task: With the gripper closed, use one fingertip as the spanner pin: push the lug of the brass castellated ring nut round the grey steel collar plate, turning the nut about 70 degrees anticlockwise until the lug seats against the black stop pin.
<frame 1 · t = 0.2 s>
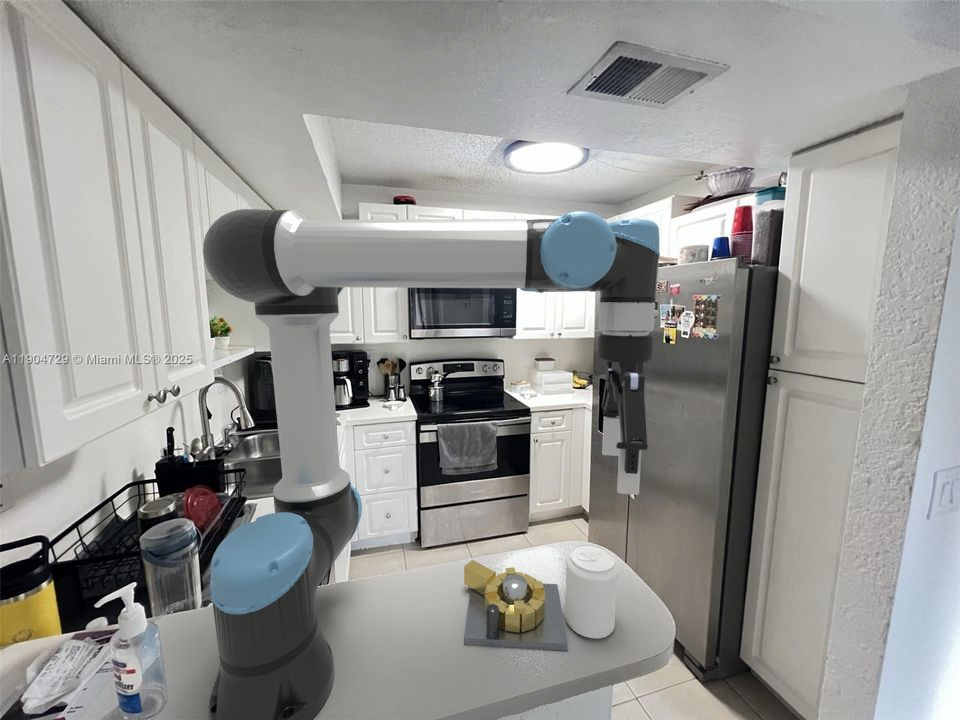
hand: (618, 471, 60), 27 cm above the counter, fingers open, 13 cm apart
beverage can: (589, 622, 66), on the counter
collar plate: (514, 614, 68), on the counter
ring nut: (501, 589, 69), point 3 cm above the counter, hinge at -70.0°
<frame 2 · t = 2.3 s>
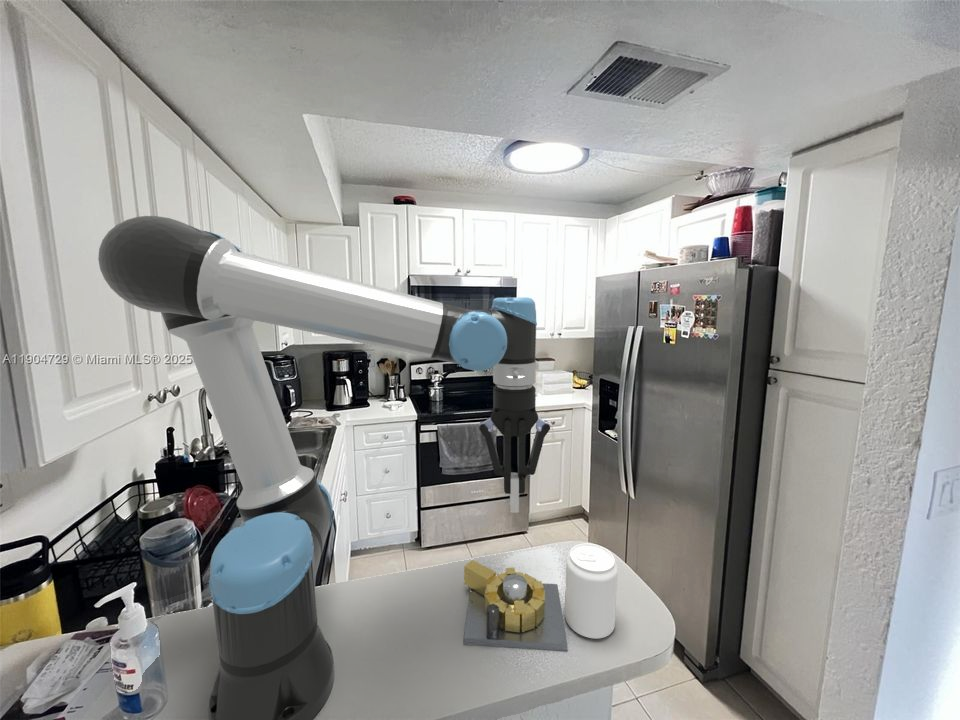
hand: (514, 508, 73), 15 cm above the counter, fingers closed
nothing on the counter moved.
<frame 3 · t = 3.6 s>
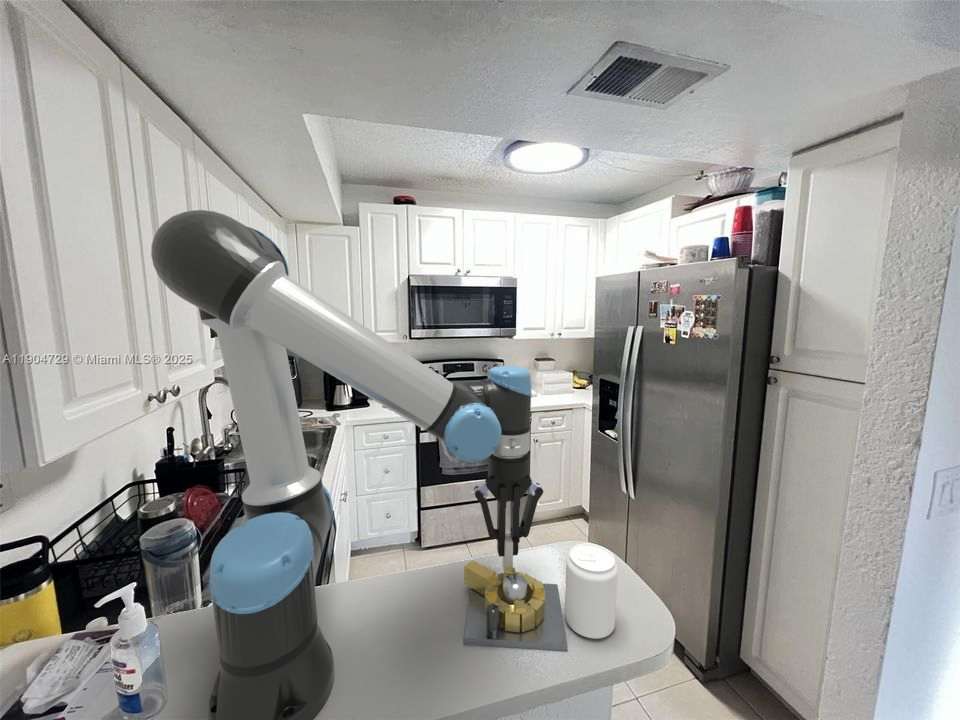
hand: (507, 569, 75), 3 cm above the counter, fingers closed
nothing on the counter moved.
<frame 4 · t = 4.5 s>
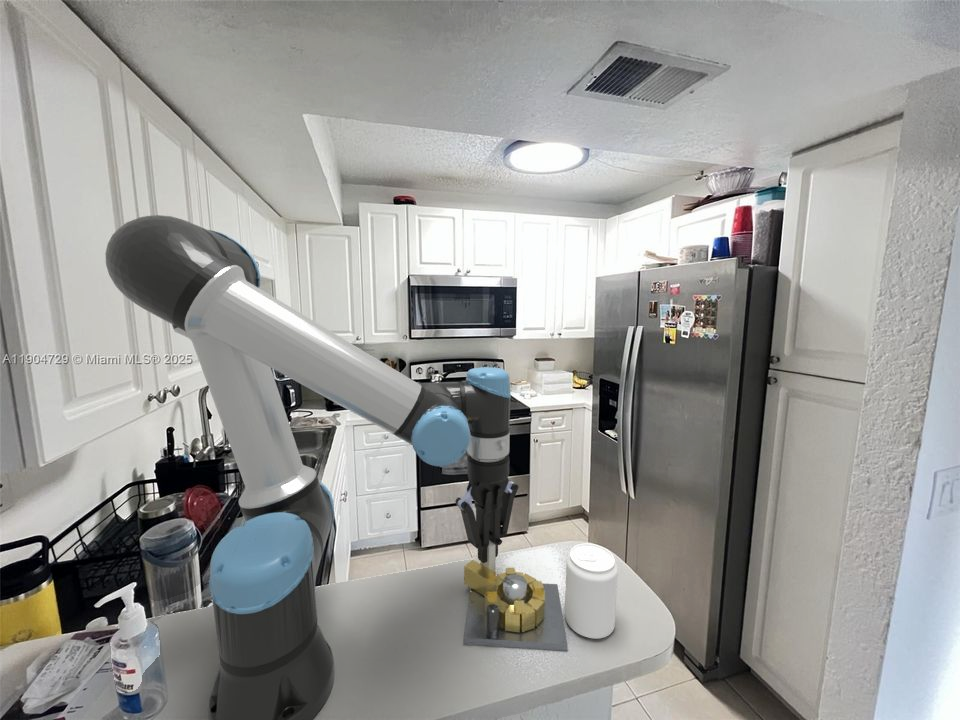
hand: (487, 574, 74), 3 cm above the counter, fingers closed
ring nut: (501, 589, 69), point 3 cm above the counter, hinge at -70.0°, touching gripper
everything else where it was.
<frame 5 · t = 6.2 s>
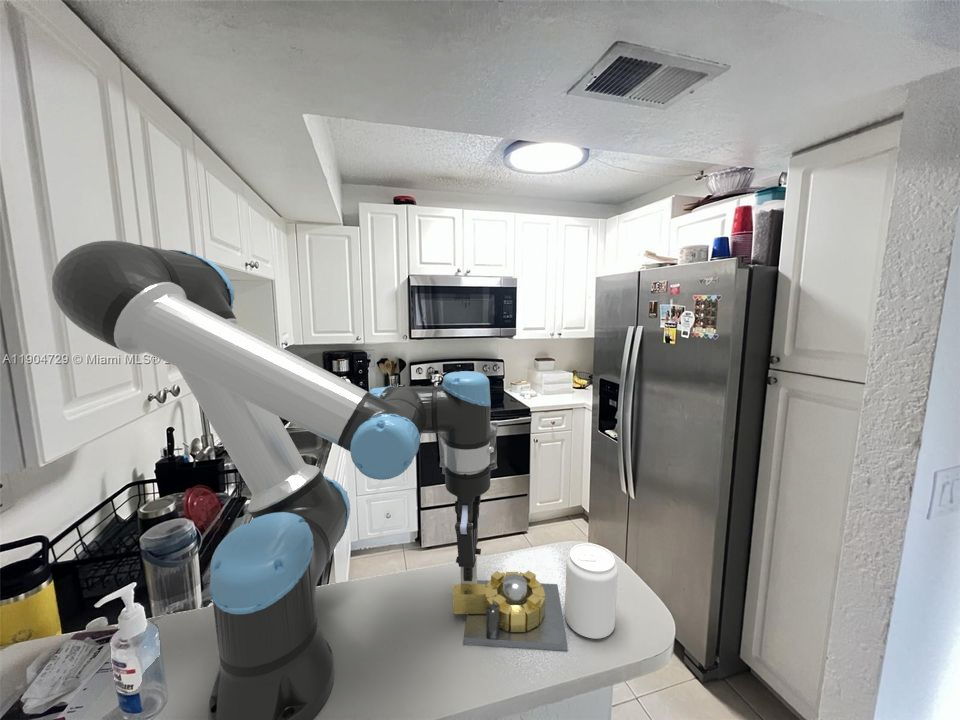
hand: (469, 591, 69), 3 cm above the counter, fingers closed
ring nut: (498, 597, 67), point 3 cm above the counter, hinge at -29.7°, touching gripper
everything else where it was.
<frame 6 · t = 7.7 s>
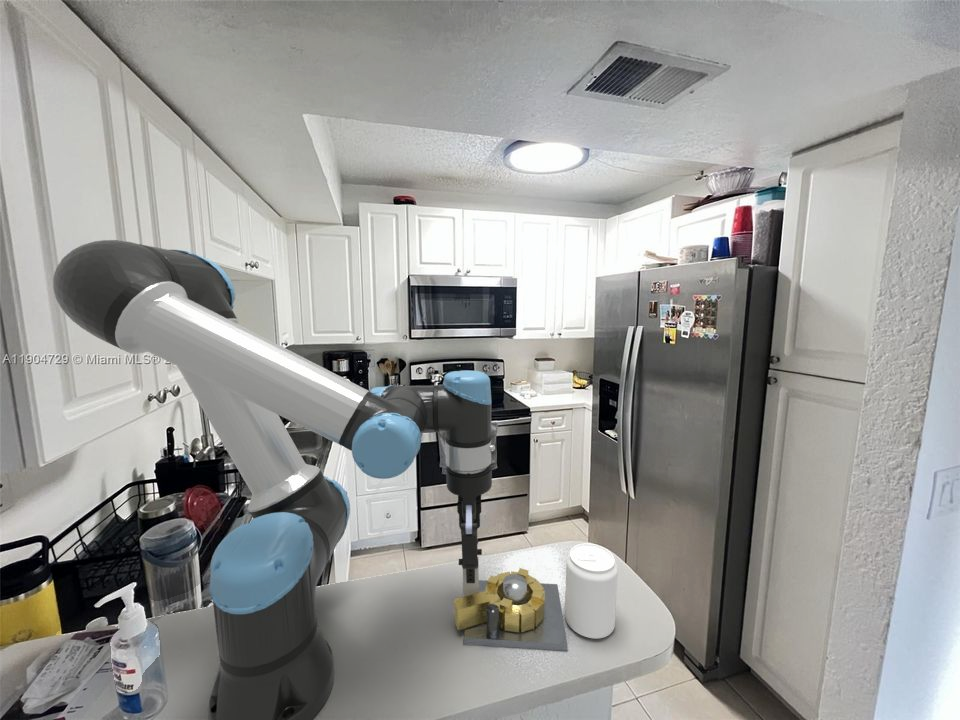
hand: (471, 593, 68), 3 cm above the counter, fingers closed
ring nut: (499, 601, 66), point 3 cm above the counter, hinge at -11.1°
everything else where it was.
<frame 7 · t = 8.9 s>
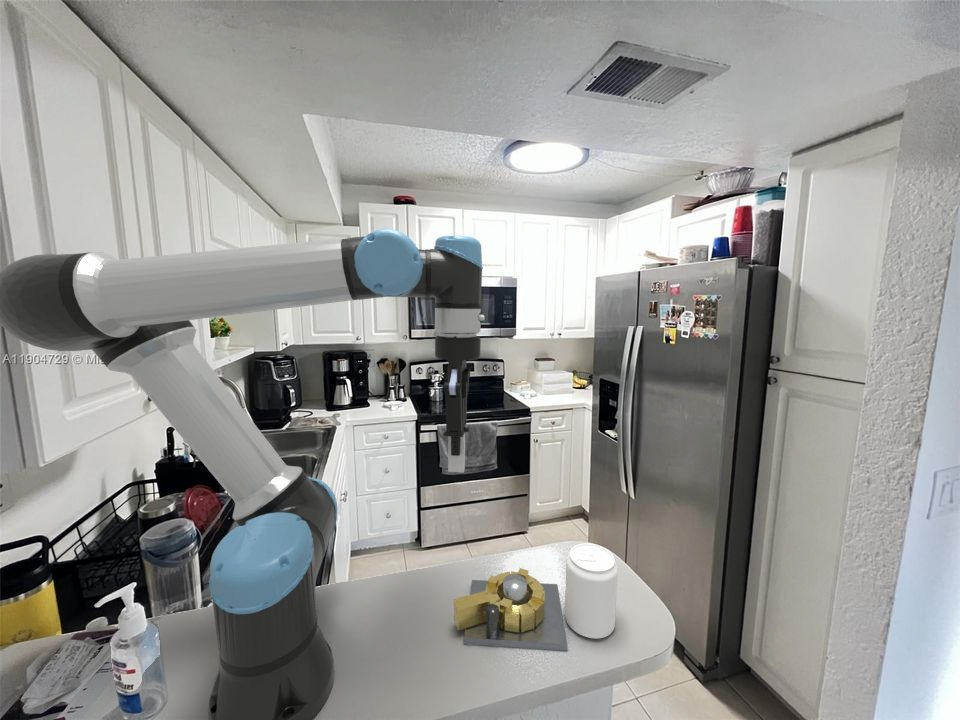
hand: (456, 470, 68), 24 cm above the counter, fingers closed
nothing on the counter moved.
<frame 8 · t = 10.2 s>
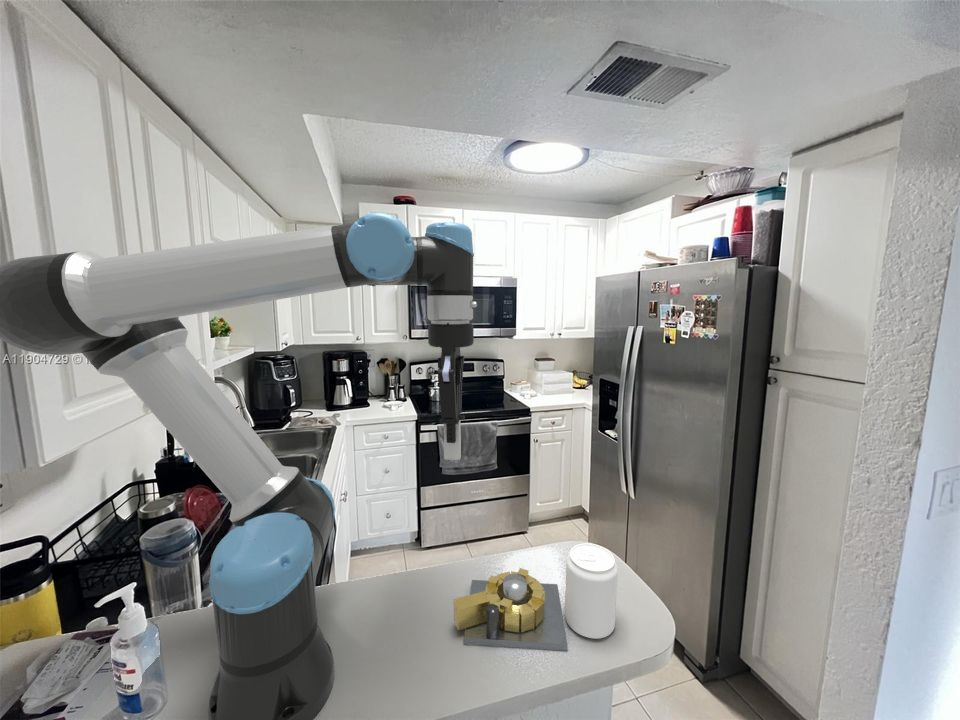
hand: (452, 457, 68), 26 cm above the counter, fingers closed
nothing on the counter moved.
at the end: ring nut at -11° (first picture: -70°); beverage can moved 0.2 cm from its start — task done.
